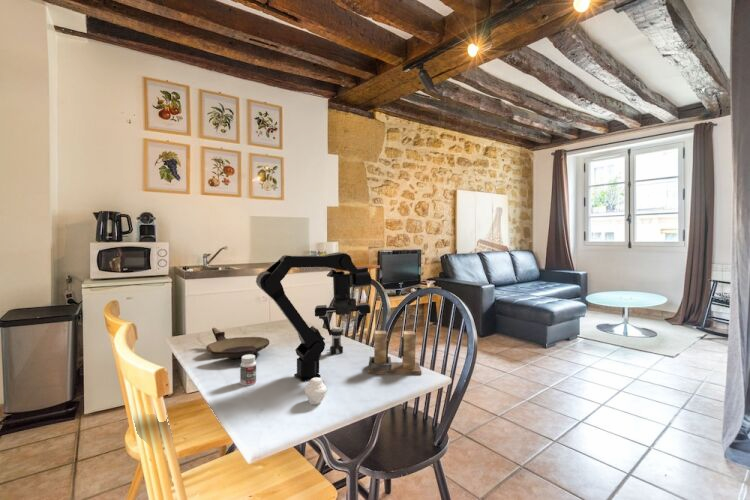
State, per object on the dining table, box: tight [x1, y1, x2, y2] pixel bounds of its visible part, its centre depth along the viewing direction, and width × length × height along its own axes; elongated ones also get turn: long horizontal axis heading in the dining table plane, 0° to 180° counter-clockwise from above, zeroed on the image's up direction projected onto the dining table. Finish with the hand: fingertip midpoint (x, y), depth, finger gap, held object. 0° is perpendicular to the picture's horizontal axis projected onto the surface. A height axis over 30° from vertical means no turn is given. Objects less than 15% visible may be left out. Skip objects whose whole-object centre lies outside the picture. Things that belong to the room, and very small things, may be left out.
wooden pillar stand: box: [367, 330, 422, 376], centre depth 124 cm, size 18×8×13 cm, turn 90°
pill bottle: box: [239, 354, 257, 387], centre depth 111 cm, size 5×5×8 cm
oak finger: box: [373, 330, 389, 364], centre depth 124 cm, size 5×4×12 cm
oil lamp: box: [206, 327, 270, 359], centre depth 138 cm, size 22×30×8 cm
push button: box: [325, 326, 344, 355], centre depth 140 cm, size 7×5×10 cm
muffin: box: [304, 377, 328, 406], centre depth 99 cm, size 6×6×7 cm
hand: (343, 334), depth 122 cm, fingers open, 9 cm apart
